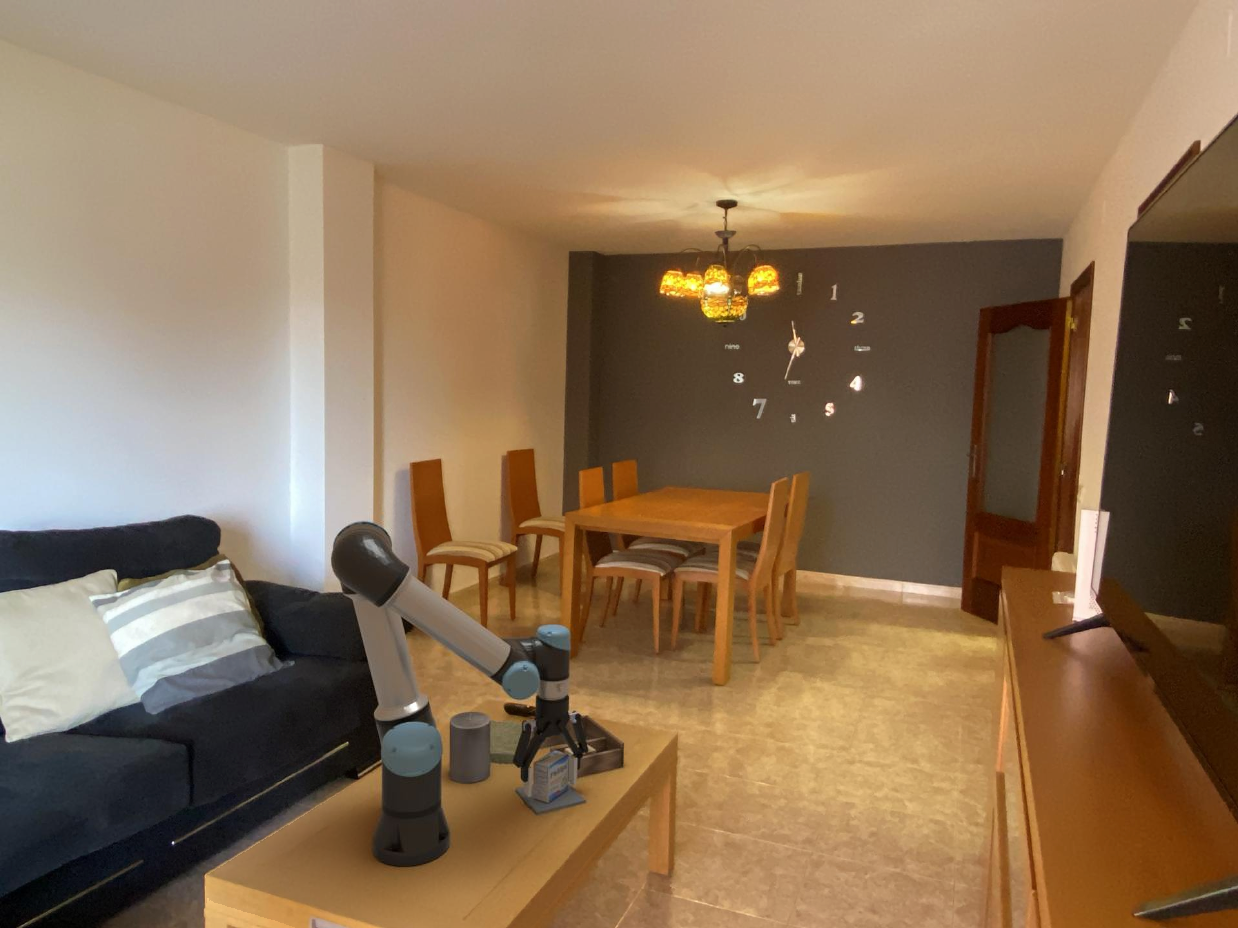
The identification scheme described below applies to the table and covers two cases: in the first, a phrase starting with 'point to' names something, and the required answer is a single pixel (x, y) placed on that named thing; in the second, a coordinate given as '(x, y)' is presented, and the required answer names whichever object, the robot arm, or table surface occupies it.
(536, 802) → the mat
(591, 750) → the offcut short
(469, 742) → the pillar candle
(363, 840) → the table surface
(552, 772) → the medicine box
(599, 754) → the rack
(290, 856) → the table surface
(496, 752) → the green stone slab
